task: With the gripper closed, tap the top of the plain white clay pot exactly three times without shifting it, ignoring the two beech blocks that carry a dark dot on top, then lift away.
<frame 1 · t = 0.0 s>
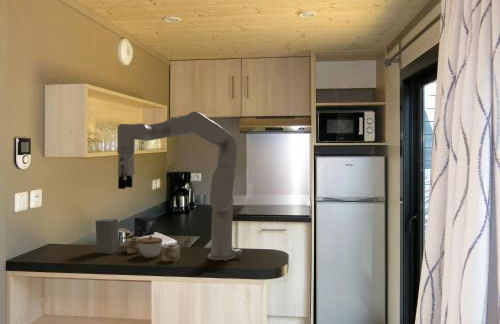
hand: (125, 188, 190), 31 cm above the countertop, tool pointing down, fingers open, 9 cm apart
lidded jar: (150, 256, 190), on the countertop
skincare box: (107, 252, 195), on the countertop
marked block near: (171, 260, 184), on the countertop
marked block far: (134, 251, 198), on the countertop
box: (144, 235, 241), on the countertop
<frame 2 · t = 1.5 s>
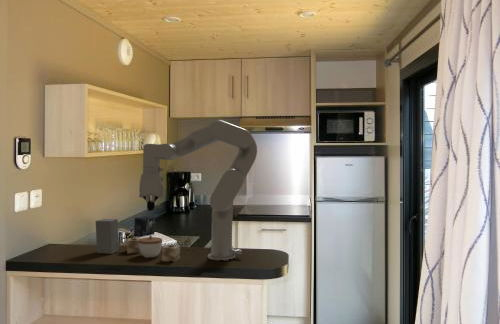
hand: (150, 210, 190), 21 cm above the countertop, tool pointing down, fingers closed
nothing on the countertop moved.
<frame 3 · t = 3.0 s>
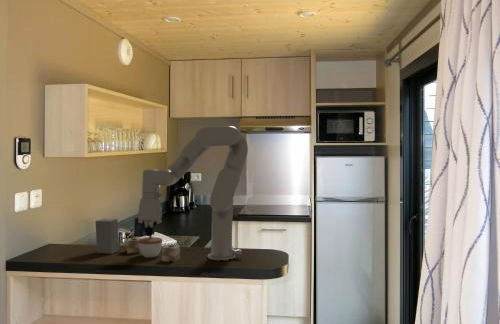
hand: (149, 235, 190), 9 cm above the countertop, tool pointing down, fingers closed
lidded jar: (150, 256, 190), on the countertop, touching gripper
everything else where it was.
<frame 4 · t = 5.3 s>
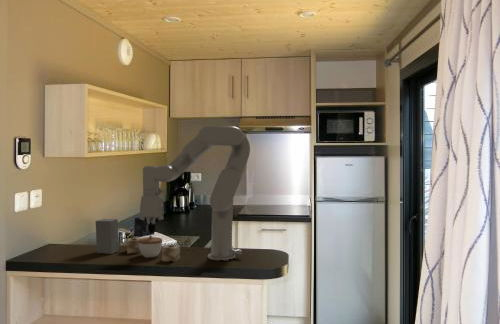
hand: (151, 232, 190), 11 cm above the countertop, tool pointing down, fingers closed
lidded jar: (150, 256, 190), on the countertop
everything else where it was.
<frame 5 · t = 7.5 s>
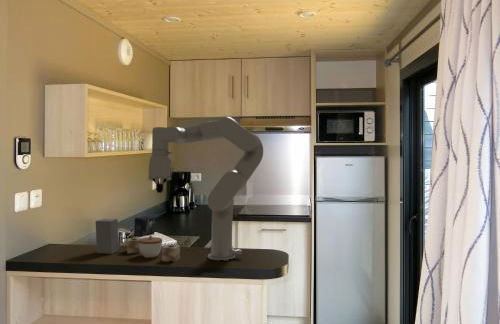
hand: (159, 192, 193), 29 cm above the countertop, tool pointing down, fingers closed
nothing on the countertop moved.
at the end: lidded jar moved 0.2 cm from its start; lidded jar tilted 0°; marked block near moved 0.1 cm from its start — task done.
